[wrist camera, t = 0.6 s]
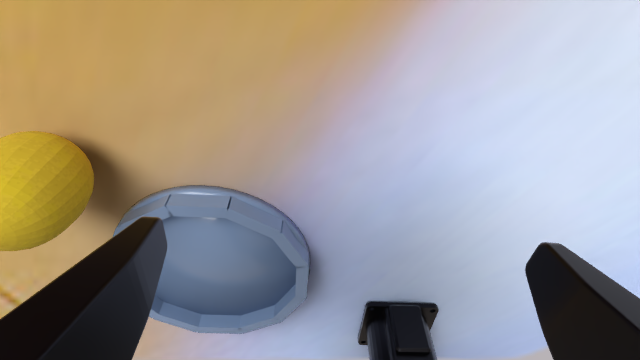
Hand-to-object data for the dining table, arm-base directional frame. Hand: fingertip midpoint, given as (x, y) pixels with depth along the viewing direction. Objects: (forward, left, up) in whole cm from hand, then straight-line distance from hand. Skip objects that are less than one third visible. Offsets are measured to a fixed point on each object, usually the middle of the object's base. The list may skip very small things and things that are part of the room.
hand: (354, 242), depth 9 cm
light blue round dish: (-17, +8, -14) cm, 23 cm away
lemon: (-7, +16, -14) cm, 22 cm away
